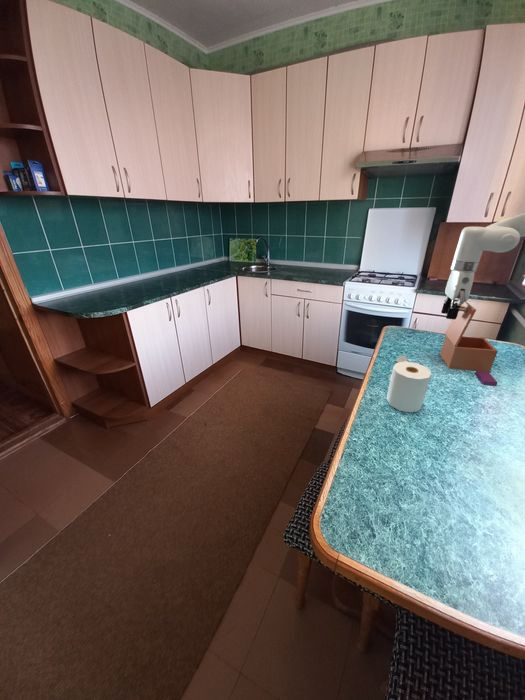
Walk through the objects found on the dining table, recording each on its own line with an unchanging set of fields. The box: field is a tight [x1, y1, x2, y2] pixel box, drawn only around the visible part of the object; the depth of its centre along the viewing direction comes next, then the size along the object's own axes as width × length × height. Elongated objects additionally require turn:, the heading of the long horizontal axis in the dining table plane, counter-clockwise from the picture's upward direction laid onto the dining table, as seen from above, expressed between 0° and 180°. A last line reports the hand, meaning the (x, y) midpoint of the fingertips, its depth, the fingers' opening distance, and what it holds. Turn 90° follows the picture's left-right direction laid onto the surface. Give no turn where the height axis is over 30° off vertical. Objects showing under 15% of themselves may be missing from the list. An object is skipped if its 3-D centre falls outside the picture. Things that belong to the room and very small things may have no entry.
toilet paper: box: [386, 361, 432, 414], centre depth 89 cm, size 10×10×12 cm
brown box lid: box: [444, 301, 477, 347], centre depth 107 cm, size 14×12×5 cm
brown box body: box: [439, 335, 499, 373], centre depth 111 cm, size 14×12×9 cm
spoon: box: [388, 355, 409, 382], centre depth 109 cm, size 4×21×2 cm, turn 145°
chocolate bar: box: [474, 371, 498, 387], centre depth 102 cm, size 7×4×2 cm, turn 166°
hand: (448, 315), depth 107 cm, fingers closed on brown box lid, 5 cm apart
